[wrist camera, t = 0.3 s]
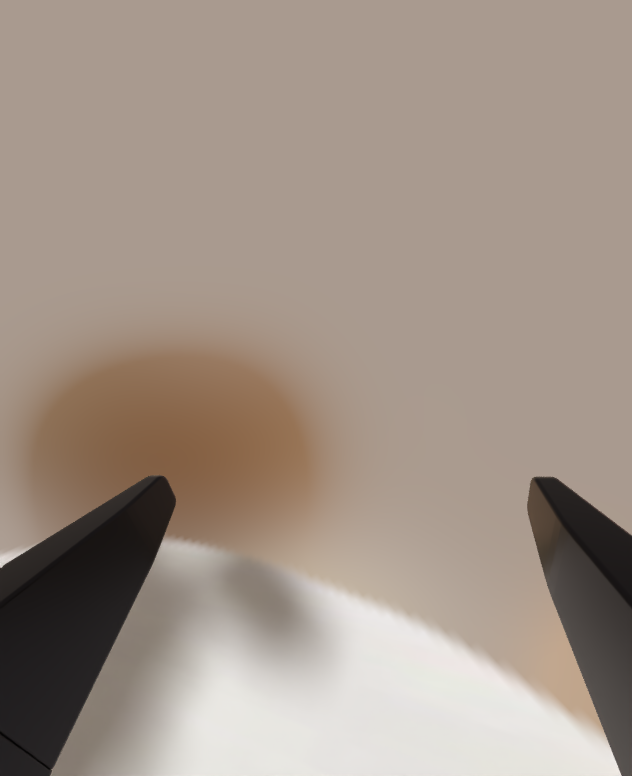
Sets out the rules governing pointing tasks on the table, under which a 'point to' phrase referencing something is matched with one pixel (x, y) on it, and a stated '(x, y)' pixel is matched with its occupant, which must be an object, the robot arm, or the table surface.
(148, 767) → the table surface
